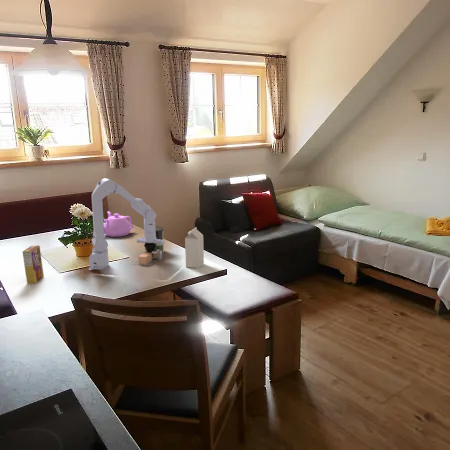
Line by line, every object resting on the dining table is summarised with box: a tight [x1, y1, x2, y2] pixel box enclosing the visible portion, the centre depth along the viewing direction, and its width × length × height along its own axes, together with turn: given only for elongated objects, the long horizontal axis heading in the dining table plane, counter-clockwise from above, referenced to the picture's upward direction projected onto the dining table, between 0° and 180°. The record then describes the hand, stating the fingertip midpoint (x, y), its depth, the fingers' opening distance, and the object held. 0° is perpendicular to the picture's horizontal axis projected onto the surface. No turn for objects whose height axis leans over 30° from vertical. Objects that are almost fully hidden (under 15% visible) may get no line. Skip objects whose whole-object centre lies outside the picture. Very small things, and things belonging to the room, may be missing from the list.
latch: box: [152, 249, 163, 261], centre depth 216 cm, size 6×4×5 cm, turn 165°
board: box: [131, 257, 159, 267], centre depth 215 cm, size 15×10×2 cm, turn 165°
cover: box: [137, 251, 152, 265], centre depth 212 cm, size 7×4×4 cm, turn 165°
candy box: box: [22, 245, 45, 285], centre depth 190 cm, size 9×4×15 cm, turn 0°
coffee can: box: [144, 226, 165, 254], centre depth 229 cm, size 10×10×14 cm
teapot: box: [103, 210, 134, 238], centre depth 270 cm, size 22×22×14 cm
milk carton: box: [184, 226, 205, 269], centre depth 208 cm, size 7×7×19 cm
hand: (151, 256), depth 218 cm, fingers closed
